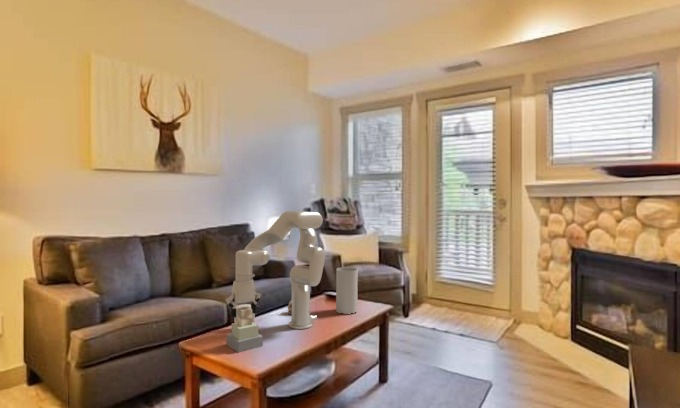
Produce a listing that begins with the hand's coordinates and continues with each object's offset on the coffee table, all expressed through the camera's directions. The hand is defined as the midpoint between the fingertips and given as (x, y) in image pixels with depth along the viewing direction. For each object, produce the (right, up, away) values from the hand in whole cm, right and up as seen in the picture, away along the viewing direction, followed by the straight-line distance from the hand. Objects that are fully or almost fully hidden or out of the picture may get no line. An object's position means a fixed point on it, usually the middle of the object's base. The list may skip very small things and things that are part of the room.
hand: (243, 314), depth 190 cm
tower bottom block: (0, -14, 0) cm, 14 cm away
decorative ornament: (+18, -13, +50) cm, 55 cm away
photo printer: (-5, -13, +23) cm, 27 cm away
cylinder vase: (+48, -13, +55) cm, 74 cm away
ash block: (0, -4, 0) cm, 4 cm away
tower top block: (+1, -9, -1) cm, 9 cm away
